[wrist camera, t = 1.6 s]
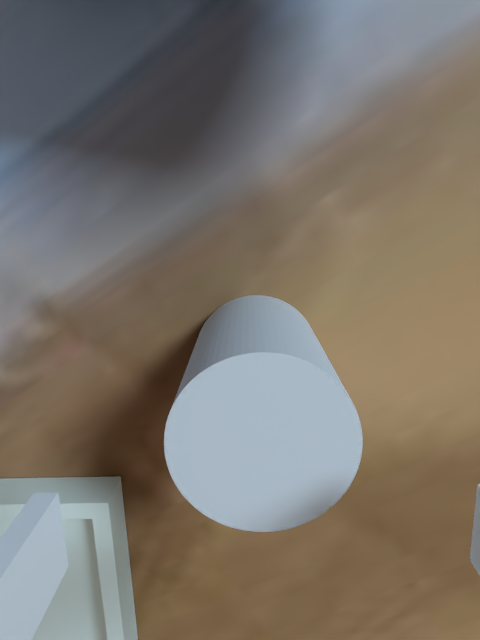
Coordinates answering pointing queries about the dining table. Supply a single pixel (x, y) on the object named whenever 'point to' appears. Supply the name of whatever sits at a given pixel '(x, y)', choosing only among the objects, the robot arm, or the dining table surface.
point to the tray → (83, 557)
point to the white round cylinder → (261, 420)
